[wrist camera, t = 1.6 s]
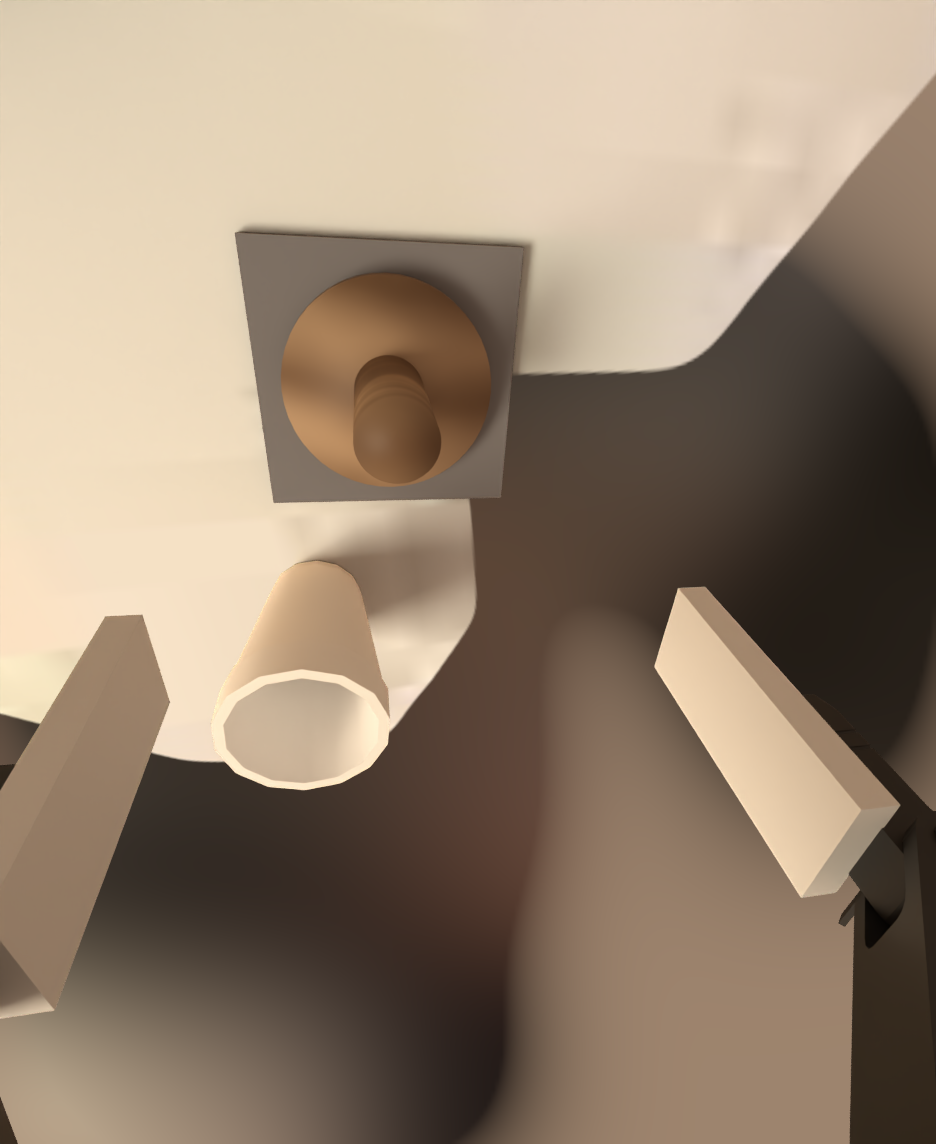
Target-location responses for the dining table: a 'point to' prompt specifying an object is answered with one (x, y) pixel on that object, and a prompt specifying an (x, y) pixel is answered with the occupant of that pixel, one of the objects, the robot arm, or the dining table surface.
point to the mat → (313, 264)
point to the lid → (385, 380)
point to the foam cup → (305, 686)
